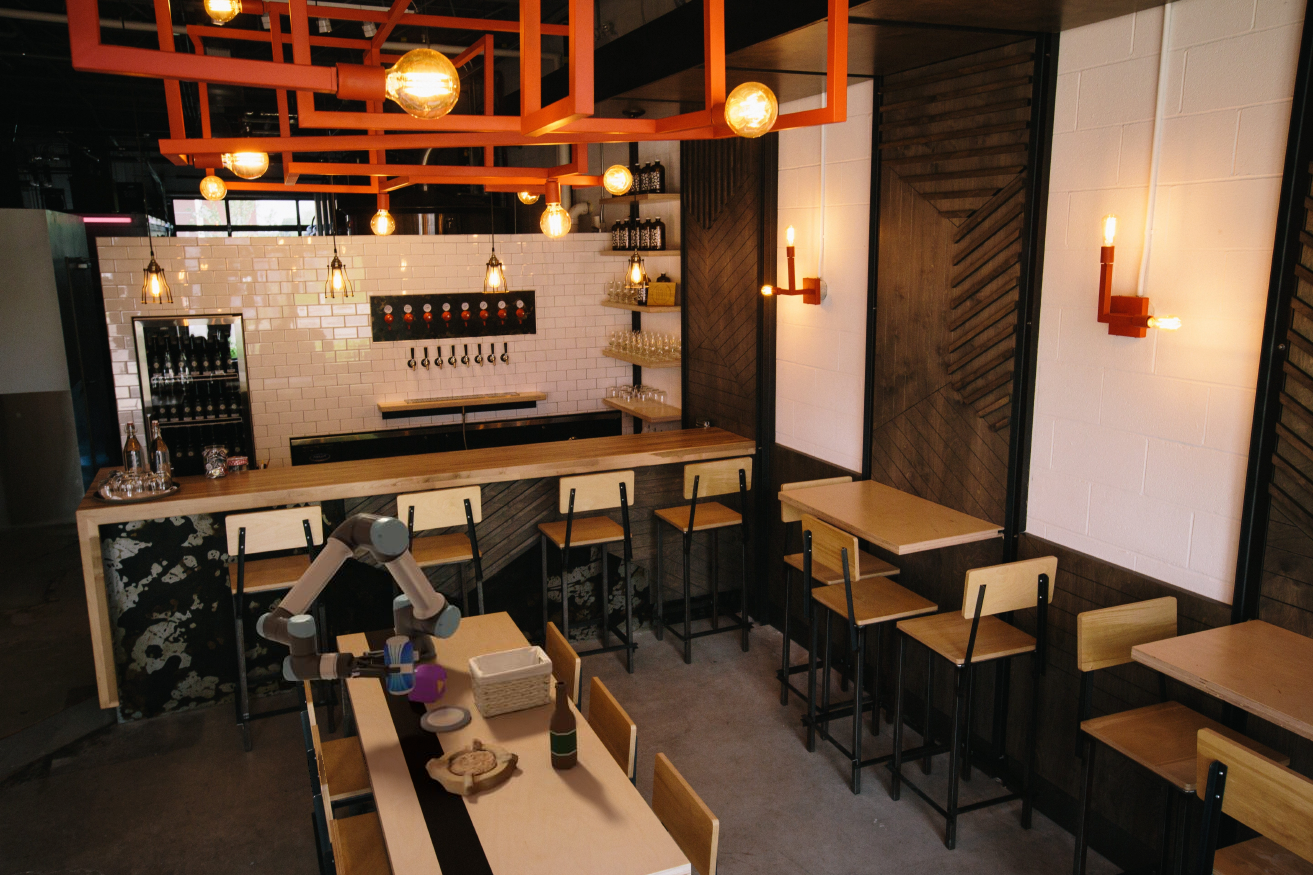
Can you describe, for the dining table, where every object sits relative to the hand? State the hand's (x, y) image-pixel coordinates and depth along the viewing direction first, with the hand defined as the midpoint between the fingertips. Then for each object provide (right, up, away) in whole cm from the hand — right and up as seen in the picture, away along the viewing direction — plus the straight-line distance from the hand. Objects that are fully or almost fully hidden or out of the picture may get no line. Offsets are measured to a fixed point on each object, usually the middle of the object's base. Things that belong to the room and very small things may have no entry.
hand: (415, 661), depth 264 cm
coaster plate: (+8, -19, +5) cm, 21 cm away
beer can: (-5, -9, +1) cm, 10 cm away
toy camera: (-1, -17, +22) cm, 27 cm away
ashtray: (+23, -25, -24) cm, 41 cm away
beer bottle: (+48, -23, -21) cm, 57 cm away
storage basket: (+27, -17, +15) cm, 35 cm away
